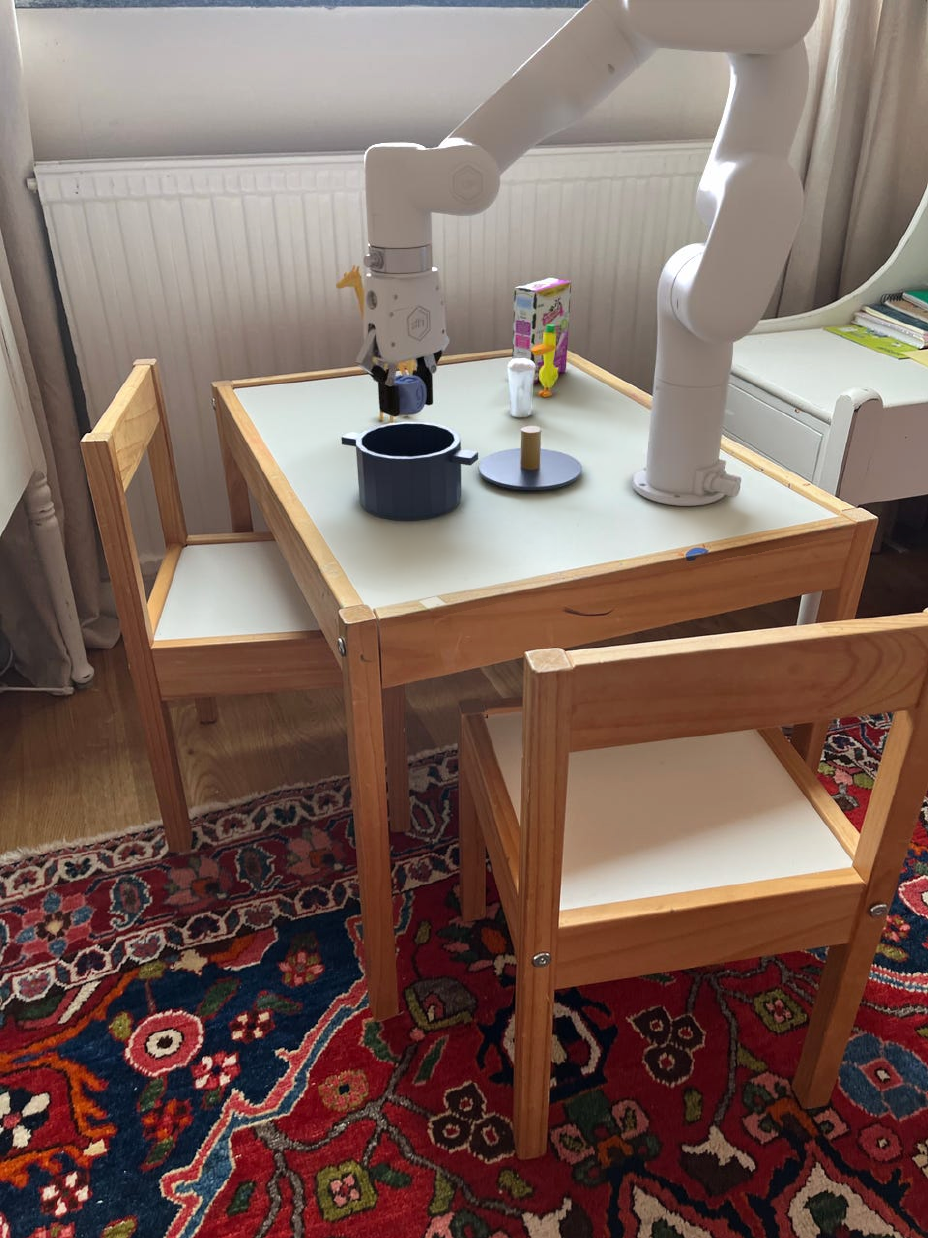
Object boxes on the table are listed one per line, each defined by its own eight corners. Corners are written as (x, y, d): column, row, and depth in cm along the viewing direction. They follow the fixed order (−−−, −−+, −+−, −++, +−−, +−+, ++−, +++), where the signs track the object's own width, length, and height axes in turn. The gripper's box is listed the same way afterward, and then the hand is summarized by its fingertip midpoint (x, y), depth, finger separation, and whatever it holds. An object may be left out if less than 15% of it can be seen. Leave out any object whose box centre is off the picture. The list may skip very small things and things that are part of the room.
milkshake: (537, 419, 157) (539, 358, 152) (504, 418, 158) (505, 357, 153) (540, 410, 161) (542, 350, 156) (509, 409, 162) (509, 349, 157)
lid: (560, 501, 129) (562, 454, 126) (461, 484, 135) (461, 438, 131) (594, 463, 141) (597, 419, 137) (502, 449, 146) (503, 406, 143)
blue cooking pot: (452, 531, 122) (451, 468, 117) (323, 506, 129) (318, 446, 124) (495, 492, 132) (495, 432, 128) (374, 470, 139) (370, 413, 135)
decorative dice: (400, 403, 126) (399, 372, 124) (427, 407, 125) (426, 376, 123) (385, 412, 123) (383, 381, 121) (412, 416, 122) (411, 385, 120)
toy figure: (538, 401, 165) (540, 330, 159) (523, 397, 167) (525, 326, 161) (565, 393, 169) (568, 323, 163) (550, 388, 171) (552, 319, 165)
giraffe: (359, 438, 151) (347, 271, 138) (339, 432, 153) (325, 267, 140) (427, 410, 161) (423, 253, 149) (408, 405, 164) (401, 250, 151)
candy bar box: (533, 385, 173) (535, 290, 164) (510, 380, 175) (512, 287, 167) (568, 371, 180) (572, 279, 172) (546, 366, 183) (549, 276, 174)
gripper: (366, 274, 107) (375, 431, 117) (473, 253, 117) (474, 399, 127) (324, 265, 112) (335, 417, 121) (431, 245, 122) (434, 387, 131)
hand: (406, 406), depth 124 cm, fingers closed on decorative dice, 5 cm apart
